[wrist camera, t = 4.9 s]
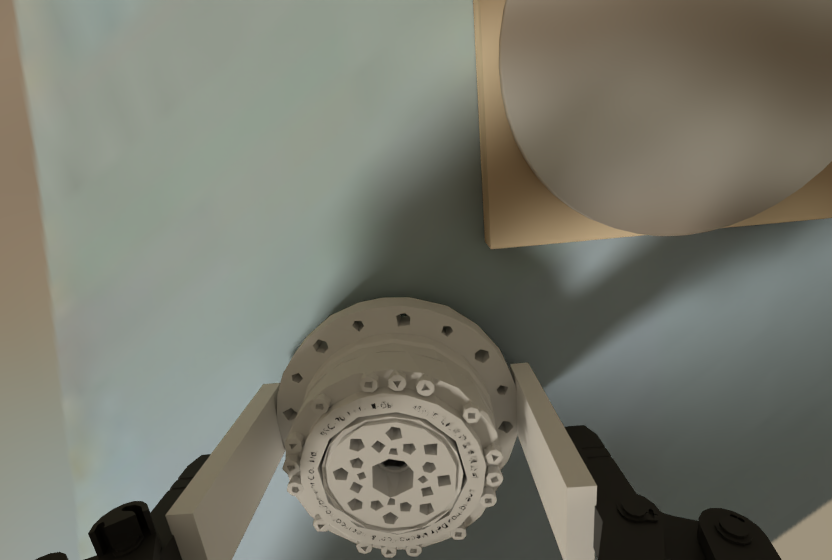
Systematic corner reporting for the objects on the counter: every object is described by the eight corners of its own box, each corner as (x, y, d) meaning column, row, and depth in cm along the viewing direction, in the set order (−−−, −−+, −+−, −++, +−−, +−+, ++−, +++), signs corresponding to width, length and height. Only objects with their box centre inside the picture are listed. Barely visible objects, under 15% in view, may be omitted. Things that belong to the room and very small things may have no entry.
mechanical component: (499, 497, 18) (527, 301, 16) (522, 596, 14) (566, 350, 11) (291, 485, 18) (283, 287, 16) (252, 580, 14) (231, 330, 11)
